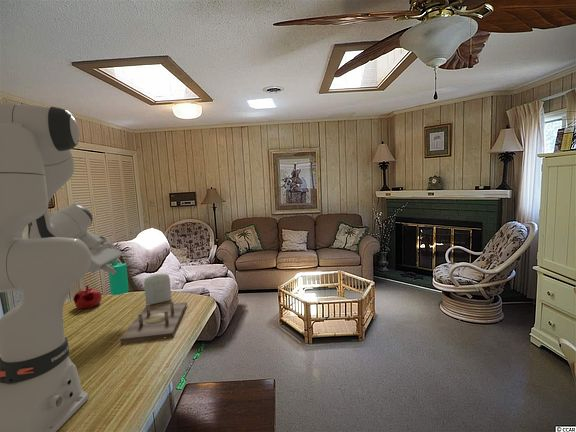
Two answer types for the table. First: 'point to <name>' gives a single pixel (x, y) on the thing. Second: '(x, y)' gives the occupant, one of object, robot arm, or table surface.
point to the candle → (119, 279)
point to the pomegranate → (87, 298)
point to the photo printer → (157, 288)
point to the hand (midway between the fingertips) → (119, 270)
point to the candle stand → (155, 322)
